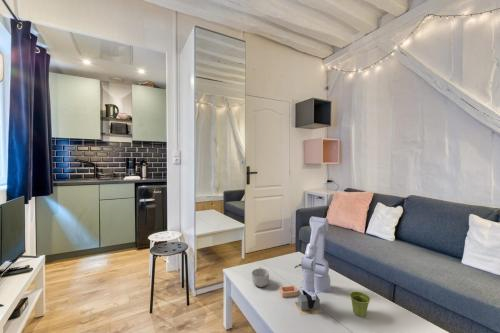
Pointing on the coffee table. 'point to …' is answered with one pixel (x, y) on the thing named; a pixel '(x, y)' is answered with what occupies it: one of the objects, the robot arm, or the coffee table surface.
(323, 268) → the robot arm
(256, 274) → the teacup
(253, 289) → the coffee table surface
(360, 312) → the plant pot
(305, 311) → the wooden board
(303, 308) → the gray rectangular block
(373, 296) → the coffee table surface
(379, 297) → the coffee table surface
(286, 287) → the peach slab
